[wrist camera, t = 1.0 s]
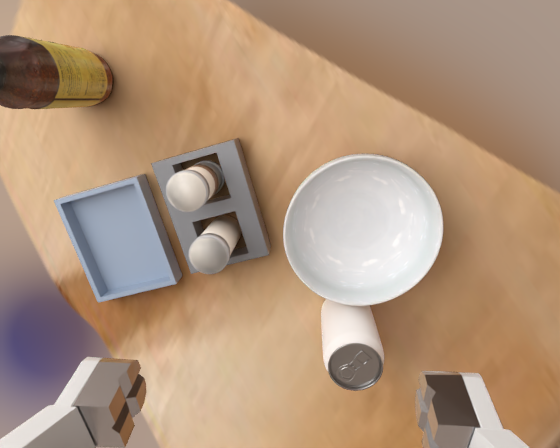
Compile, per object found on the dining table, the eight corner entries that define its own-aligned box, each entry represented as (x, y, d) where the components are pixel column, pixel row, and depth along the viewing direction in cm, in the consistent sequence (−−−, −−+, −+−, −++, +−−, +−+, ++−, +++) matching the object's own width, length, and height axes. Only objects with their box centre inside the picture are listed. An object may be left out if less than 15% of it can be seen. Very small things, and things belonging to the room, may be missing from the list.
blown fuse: (229, 189, 49) (212, 206, 41) (197, 197, 50) (174, 216, 41) (219, 155, 48) (199, 166, 40) (186, 165, 49) (160, 177, 40)
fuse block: (271, 246, 51) (263, 274, 42) (197, 264, 52) (175, 295, 44) (238, 137, 47) (222, 144, 39) (160, 160, 49) (128, 171, 40)
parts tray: (182, 275, 53) (176, 283, 51) (107, 293, 55) (98, 302, 52) (144, 173, 49) (136, 176, 47) (65, 196, 51) (53, 200, 49)
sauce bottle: (87, 38, 46) (-73, -12, 27) (126, 82, 47) (-1, 64, 28) (51, 78, 47) (-125, 57, 28) (89, 120, 48) (-55, 127, 29)
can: (310, 312, 53) (310, 368, 42) (344, 278, 51) (353, 327, 40) (346, 341, 54) (356, 405, 42) (381, 309, 52) (400, 366, 41)
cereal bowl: (359, 117, 46) (368, 118, 39) (455, 217, 48) (478, 235, 42) (258, 218, 50) (250, 235, 43) (350, 305, 52) (356, 335, 46)
